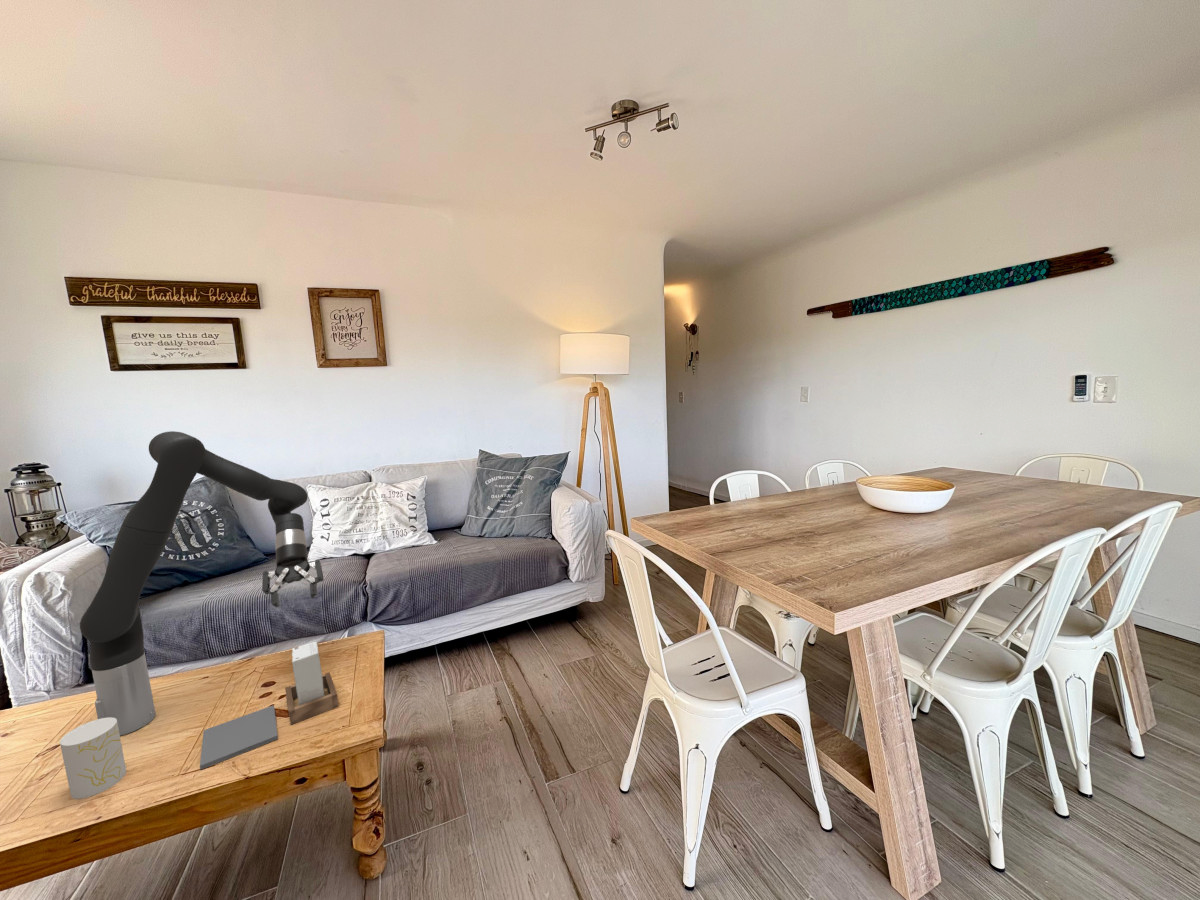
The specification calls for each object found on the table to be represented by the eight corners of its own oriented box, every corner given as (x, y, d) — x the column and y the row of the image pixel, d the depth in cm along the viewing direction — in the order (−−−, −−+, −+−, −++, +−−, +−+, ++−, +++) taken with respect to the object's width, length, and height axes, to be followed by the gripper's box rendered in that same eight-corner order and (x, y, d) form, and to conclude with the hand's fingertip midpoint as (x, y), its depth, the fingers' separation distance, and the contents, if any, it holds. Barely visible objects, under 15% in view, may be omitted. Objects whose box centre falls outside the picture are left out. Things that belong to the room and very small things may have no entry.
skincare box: (326, 707, 121) (319, 653, 119) (298, 716, 118) (291, 661, 116) (324, 690, 128) (318, 639, 126) (298, 699, 125) (291, 646, 123)
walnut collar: (290, 725, 115) (288, 711, 115) (286, 699, 125) (285, 687, 124) (338, 706, 121) (336, 694, 121) (331, 683, 131) (329, 672, 131)
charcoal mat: (200, 770, 102) (199, 765, 102) (204, 733, 113) (203, 730, 113) (277, 739, 110) (277, 735, 110) (274, 708, 121) (273, 704, 121)
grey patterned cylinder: (86, 802, 95) (76, 748, 93) (60, 794, 97) (49, 741, 95) (135, 770, 103) (126, 720, 101) (110, 764, 105) (101, 714, 103)
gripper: (258, 549, 130) (260, 605, 123) (317, 537, 137) (322, 589, 129) (265, 559, 136) (267, 613, 129) (321, 547, 142) (326, 598, 135)
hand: (295, 601), depth 129 cm, fingers open, 8 cm apart
